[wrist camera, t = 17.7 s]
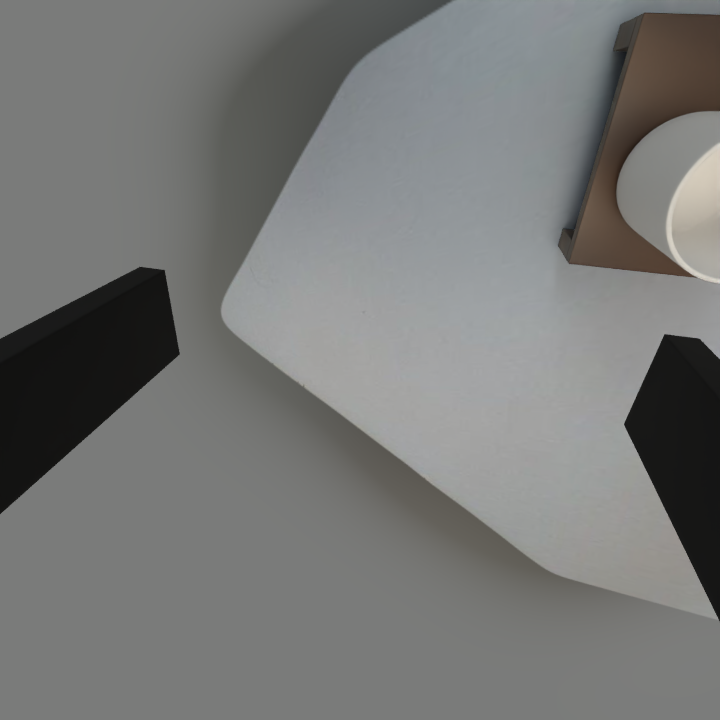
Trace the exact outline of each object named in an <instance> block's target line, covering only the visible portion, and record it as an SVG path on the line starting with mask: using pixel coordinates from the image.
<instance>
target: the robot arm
mask: <svg viewBox="0 0 720 720" xmlns="http://www.w3.org/2000/svg"><path fill="white" fill-rule="evenodd" d="M179 354H180V353H179V348H178V342H177V336H176V331H175V326H174V320H173V315H172V309H171V303H170V298H169V292H168V286H167V281H166V275H165V270H159V269H152V268H144V267H139V268H137V269H135V270H133V271H131V272H129V273H127V274H125V275H123V276H121V277H120V278H118V279H116V280H114V281H112V282H110V283H108V284H106V285H104V286H102V287H100V288H98V289H96V290H95V291H93V292H90V293H89V294H87V295H85V296H83V297H81V298H79V299H77V300H75V301H73V302H71V303H69V304H67V305H65V306H63V307H61V308H59V309H57V310H55V311H53V312H52V313H50V314H48V315H46V316H44V317H42V318H40V319H38V320H36V321H34V322H32V323H30V324H28V325H26V326H24V327H23V328H20V329H18V330H16V331H15V332H13V333H11V334H9V335H7V336H5V337H3V338H1V339H0V514H1V513H2V512H3V511H4V510H5V509H6V508H8V507H9V506H10V505H11V504H12V503H13V502H14V501H15V500H17V499H18V497H20V496H21V495H22V494H23V493H24V492H25V491H27V490H28V489H29V488H30V487H31V486H32V485H33V484H34V483H36V482H37V481H38V480H39V479H40V478H41V477H42V476H43V475H45V474H46V473H47V472H48V471H49V470H50V469H51V468H52V467H54V466H55V465H56V464H57V463H58V462H59V461H60V460H61V459H63V458H64V457H65V456H66V455H67V454H68V453H69V452H70V451H71V450H72V449H74V448H75V447H76V446H77V445H78V444H79V443H81V442H82V440H84V439H85V438H86V437H87V436H88V435H89V434H91V433H92V432H93V431H94V430H95V429H96V428H97V427H99V426H100V425H101V424H102V423H103V422H104V421H105V420H106V419H108V418H109V417H110V416H111V415H112V414H113V413H114V412H115V411H116V410H118V409H119V408H120V407H121V406H122V405H123V404H124V403H125V402H127V401H128V400H129V399H130V398H131V397H132V396H133V395H134V394H136V393H137V392H138V391H139V390H140V389H141V388H142V387H143V386H145V385H146V384H147V383H148V382H149V381H150V380H151V379H152V378H154V377H155V376H156V375H157V374H158V373H159V372H160V371H161V370H162V369H164V368H165V367H166V366H167V365H168V364H169V363H170V362H172V361H173V360H174V359H175V358H176V357H177V356H178V355H179ZM624 425H625V428H626V430H627V432H628V434H629V436H630V438H631V440H632V442H633V444H634V446H635V448H636V450H637V452H638V454H639V456H640V458H641V460H642V462H643V465H644V467H645V469H646V471H647V473H648V475H649V477H650V479H651V481H652V483H653V485H654V487H655V489H656V491H657V493H658V495H659V497H660V500H661V502H662V504H663V506H664V508H665V510H666V512H667V514H668V516H669V518H670V520H671V522H672V524H673V526H674V528H675V530H676V532H677V535H678V537H679V539H680V541H681V543H682V545H683V547H684V549H685V551H686V553H687V555H688V557H689V559H690V561H691V563H692V565H693V567H694V569H695V572H696V574H697V576H698V578H699V580H700V582H701V584H702V586H703V588H704V590H705V592H706V594H707V596H708V598H709V600H710V602H711V604H712V607H713V609H714V611H715V613H716V615H717V617H718V619H719V621H720V359H719V358H718V357H717V356H716V355H715V354H714V353H713V352H712V351H711V350H710V349H709V348H708V347H707V346H706V345H705V344H704V343H703V342H702V341H701V340H700V339H698V338H690V337H682V336H674V335H666V334H665V335H664V337H663V339H662V341H661V343H660V346H659V348H658V350H657V352H656V355H655V357H654V359H653V361H652V363H651V366H650V368H649V370H648V372H647V374H646V377H645V379H644V381H643V383H642V386H641V388H640V390H639V392H638V394H637V397H636V399H635V401H634V403H633V405H632V408H631V410H630V412H629V414H628V416H627V419H626V421H625V423H624Z"/></svg>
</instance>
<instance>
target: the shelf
mask: <svg viewBox="0 0 720 720" xmlns="http://www.w3.org/2000/svg"><path fill="white" fill-rule="evenodd" d="M613 51H619V52H627V55H626V58H625V61H624V65H623V68H622V71H621V75H620V78H619V82H618V85H617V88H616V92H615V95H614V99H613V102H612V105H611V109H610V112H609V115H608V119H607V122H606V126H605V129H604V132H603V136H602V139H601V142H600V146H599V149H598V153H597V156H596V159H595V163H594V166H593V169H592V173H591V176H590V180H589V183H588V186H587V190H586V193H585V196H584V200H583V203H582V207H581V210H580V213H579V217H578V220H577V224H576V227H575V230H572V229H563V230H562V234H561V237H560V241H559V244H558V247H559V248H560V250H561V252H562V253H563V255H564V256H565V258H566V260H567V261H568V263H569V264H577V265H586V266H595V267H604V268H613V269H622V270H631V271H641V272H650V273H659V274H668V275H677V276H686V277H695V276H693V275H692V274H690V273H689V272H687V271H686V270H684V269H683V268H682V267H680V266H679V265H678V264H677V263H675V262H674V261H673V260H671V259H670V258H669V257H668V256H666V255H665V254H664V253H662V252H661V251H660V250H658V249H657V248H656V247H655V246H653V245H652V244H651V243H649V242H648V241H647V240H646V239H644V238H643V237H642V236H640V235H639V234H638V233H637V232H635V231H634V230H633V229H632V228H631V227H630V226H629V225H628V224H627V223H626V221H625V220H624V218H623V217H622V215H621V213H620V210H619V208H618V204H617V197H616V190H617V182H618V178H619V174H620V171H621V169H622V167H623V164H624V162H625V161H626V159H627V157H628V156H629V154H630V153H631V151H632V150H633V149H634V147H635V146H636V145H637V144H638V143H639V142H640V141H641V140H642V139H643V138H644V137H645V136H646V135H647V134H648V133H650V132H651V131H652V130H654V129H655V128H657V127H658V126H660V125H662V124H663V123H665V122H667V121H669V120H671V119H674V118H676V117H679V116H682V115H686V114H689V113H695V112H703V111H720V15H704V14H672V13H643V14H641V15H639V16H637V17H635V18H633V19H631V20H629V21H627V22H624V23H622V24H621V25H620V28H619V32H618V35H617V39H616V42H615V46H614V49H613ZM695 278H697V277H695Z"/></svg>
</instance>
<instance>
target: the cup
mask: <svg viewBox="0 0 720 720" xmlns="http://www.w3.org/2000/svg"><path fill="white" fill-rule="evenodd" d="M616 197H617V204H618V208H619V210H620V213H621V215H622V217H623V218H624V220H625V221H626V223H627V224H628V225H629V226H630V227H631V228H632V229H633V230H634V231H635V232H637V233H638V234H639V235H640V236H642V237H643V238H644V239H646V240H647V241H648V242H649V243H651V244H652V245H653V246H655V247H656V248H657V249H658V250H660V251H661V252H662V253H664V254H665V255H666V256H668V257H669V258H670V259H671V260H673V261H674V262H675V263H677V264H678V265H679V266H680V267H682V268H683V269H684V270H686V271H687V272H689V273H690V274H692V275H693V276H695V277H697V278H700V279H702V280H705V281H709V282H713V283H719V284H720V111H703V112H695V113H689V114H686V115H682V116H679V117H676V118H674V119H671V120H669V121H667V122H665V123H663V124H662V125H660V126H658V127H657V128H655V129H654V130H652V131H651V132H650V133H648V134H647V135H646V136H645V137H644V138H643V139H642V140H641V141H640V142H639V143H638V144H637V145H636V146H635V147H634V149H633V150H632V151H631V153H630V154H629V156H628V157H627V159H626V161H625V162H624V164H623V167H622V169H621V171H620V174H619V178H618V182H617V190H616Z"/></svg>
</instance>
